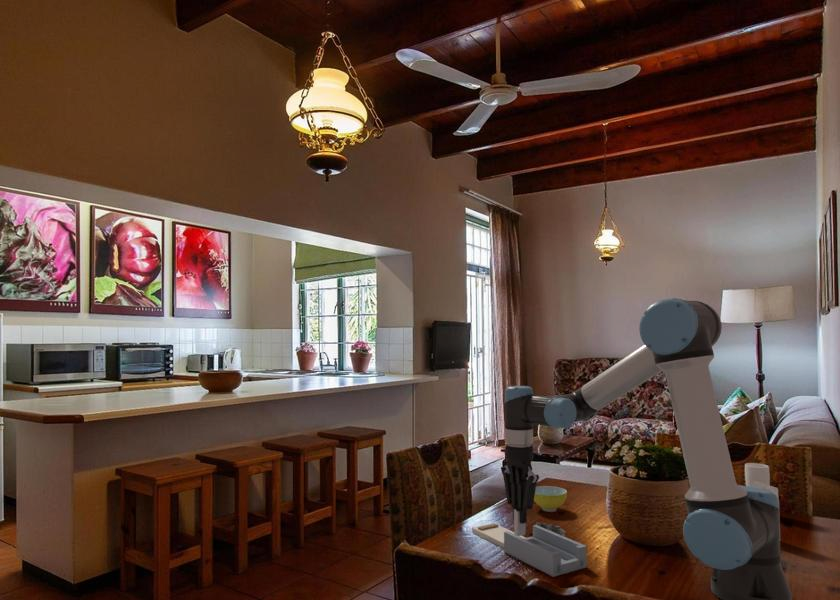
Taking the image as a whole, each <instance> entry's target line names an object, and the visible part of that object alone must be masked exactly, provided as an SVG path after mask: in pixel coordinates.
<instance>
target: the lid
mask: <svg viewBox="0 0 840 600" xmlns="http://www.w3.org/2000/svg"><path fill="white" fill-rule="evenodd" d="M506 531H508V532H510V533H513V534H514V531H512V530H510V529H508V528H505V527H503V526H501V525H498V524H497V523H494V522H492V523H488V524H483V525H482V524H481V525H479V526H475V527H471V533H472V534H474V533H475V534H474V535H476V534H477V535H476V536H478V537H481V538H483V539H484V540H486V541H489V542H490V543H492V544H494V545H497V546H498V547H500V548H502V549H504V532H506ZM519 537H521V538H526V537H525V536H524V535H521V536H519Z"/></svg>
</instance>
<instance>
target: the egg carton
mask: <svg viewBox="0 0 840 600" xmlns="http://www.w3.org/2000/svg"><path fill="white" fill-rule="evenodd" d="M535 525H537V526H540V527H542V528H545V529H547V530H549V531H552V532H554V533H557V534H559V535H561V536H564V537H566V535H567V533H566V530H564V529H563V528H561V526H560V525H559V524H557V525H554V523H551V524H550V523H545V522H543V523H541V522H539V521H535Z"/></svg>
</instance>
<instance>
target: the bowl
mask: <svg viewBox="0 0 840 600" xmlns="http://www.w3.org/2000/svg"><path fill="white" fill-rule="evenodd" d="M567 496H568V491H567V490H566V489H565V488H562V487H558V486H551V485H550V486H549V485H539V486H536V489H535V496H534V503H535V504H536V505H538V506H539V507H541V510H542V511H544V512H548V513H553V512H557V509H558V508H559V507H561V506H562V505H564V503H565V502H566V499H567Z"/></svg>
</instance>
